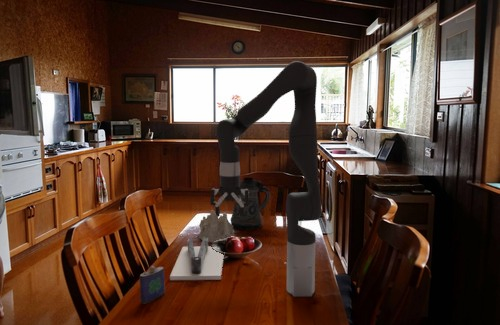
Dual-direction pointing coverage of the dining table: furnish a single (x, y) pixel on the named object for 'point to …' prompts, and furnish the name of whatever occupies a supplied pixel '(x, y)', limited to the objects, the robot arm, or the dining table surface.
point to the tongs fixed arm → (199, 257)
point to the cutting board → (209, 269)
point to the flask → (152, 284)
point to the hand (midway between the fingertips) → (229, 216)
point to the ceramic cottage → (215, 227)
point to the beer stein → (250, 206)
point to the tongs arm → (191, 248)
